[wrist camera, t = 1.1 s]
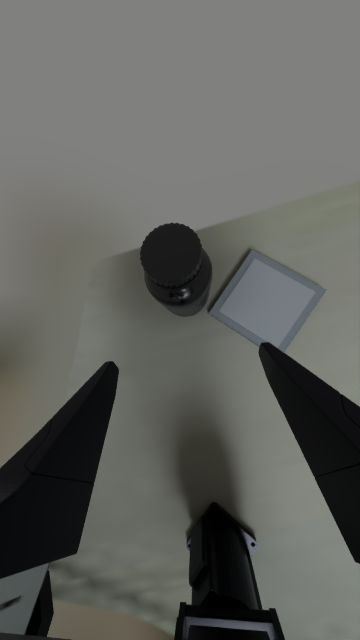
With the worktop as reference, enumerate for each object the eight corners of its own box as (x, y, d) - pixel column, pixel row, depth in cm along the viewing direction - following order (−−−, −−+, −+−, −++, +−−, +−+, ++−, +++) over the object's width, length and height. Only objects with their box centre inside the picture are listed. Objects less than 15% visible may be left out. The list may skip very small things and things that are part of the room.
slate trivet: (321, 291, 21) (327, 289, 20) (276, 358, 21) (280, 359, 20) (250, 252, 22) (252, 249, 21) (208, 313, 22) (208, 312, 21)
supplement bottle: (216, 284, 23) (234, 228, 11) (195, 324, 22) (190, 314, 10) (176, 266, 24) (152, 197, 12) (155, 304, 23) (111, 274, 12)
